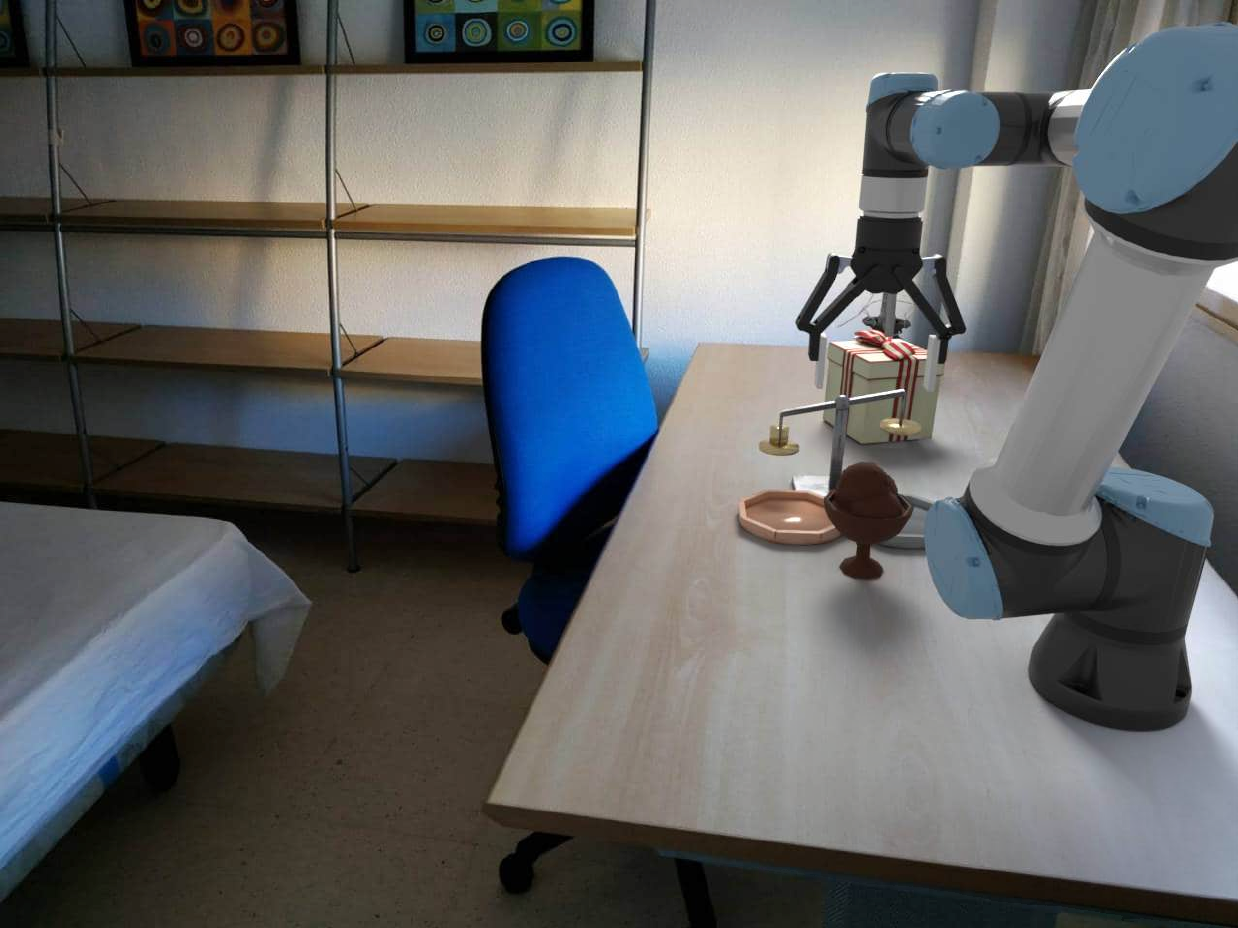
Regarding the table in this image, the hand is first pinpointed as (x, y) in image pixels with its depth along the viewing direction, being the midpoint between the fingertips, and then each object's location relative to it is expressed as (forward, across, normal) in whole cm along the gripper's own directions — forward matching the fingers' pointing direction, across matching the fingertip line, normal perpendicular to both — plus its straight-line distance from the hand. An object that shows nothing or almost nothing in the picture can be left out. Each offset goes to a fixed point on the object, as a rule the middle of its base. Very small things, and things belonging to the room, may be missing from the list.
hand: (873, 387), depth 123 cm
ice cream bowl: (+23, 0, +5) cm, 24 cm away
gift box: (+22, -12, -52) cm, 58 cm away
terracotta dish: (+23, +8, -9) cm, 26 cm away
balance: (+23, 0, -20) cm, 30 cm away
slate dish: (+23, -7, -9) cm, 26 cm away
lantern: (+22, -18, -92) cm, 97 cm away
